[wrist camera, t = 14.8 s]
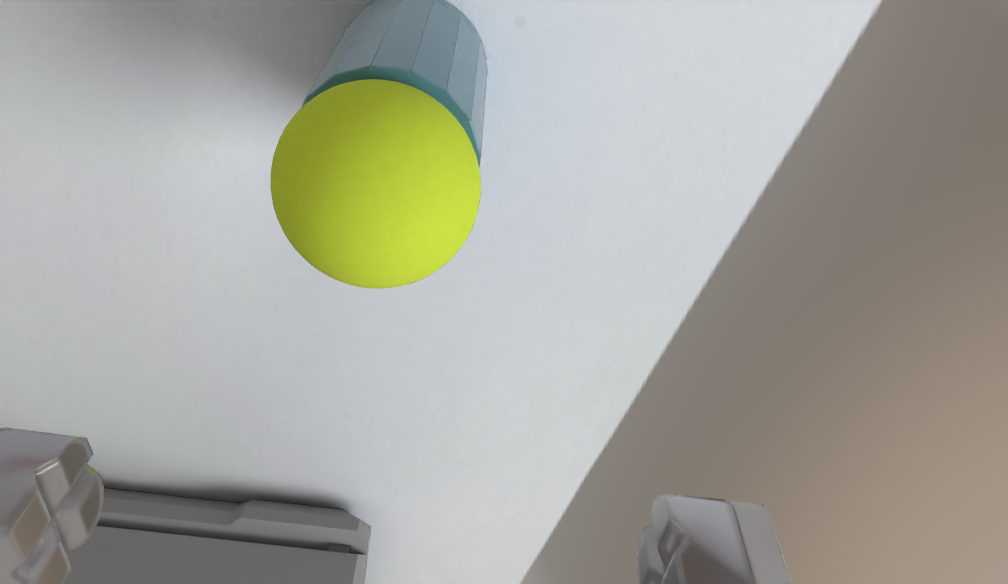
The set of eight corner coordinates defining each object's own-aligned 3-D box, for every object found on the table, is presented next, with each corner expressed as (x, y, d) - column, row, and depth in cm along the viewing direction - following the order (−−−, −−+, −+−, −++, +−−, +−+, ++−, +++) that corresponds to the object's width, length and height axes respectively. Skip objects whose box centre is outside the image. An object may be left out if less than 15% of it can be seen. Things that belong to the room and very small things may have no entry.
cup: (495, 2, 29) (490, 81, 22) (478, 140, 33) (469, 247, 26) (343, -20, 29) (288, 53, 22) (343, 123, 32) (296, 226, 25)
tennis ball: (492, 63, 23) (492, 149, 18) (471, 229, 27) (466, 340, 22) (293, 36, 23) (233, 118, 17) (300, 210, 26) (253, 319, 21)
